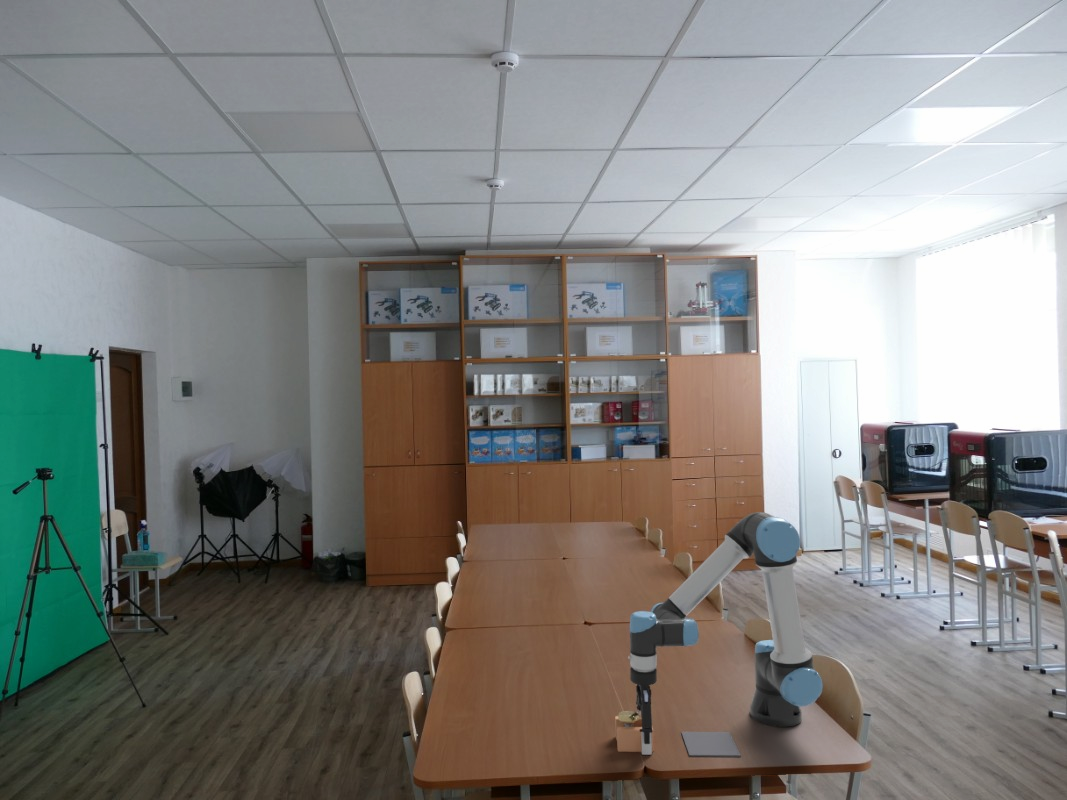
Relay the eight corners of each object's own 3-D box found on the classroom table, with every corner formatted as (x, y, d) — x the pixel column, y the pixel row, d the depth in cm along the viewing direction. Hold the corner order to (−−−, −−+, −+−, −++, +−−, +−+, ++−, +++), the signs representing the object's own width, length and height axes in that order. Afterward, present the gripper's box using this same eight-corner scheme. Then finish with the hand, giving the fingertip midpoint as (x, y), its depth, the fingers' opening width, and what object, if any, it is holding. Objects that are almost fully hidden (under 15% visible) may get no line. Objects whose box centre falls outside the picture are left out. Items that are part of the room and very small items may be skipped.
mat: (729, 733, 210) (729, 731, 210) (740, 756, 196) (740, 755, 196) (681, 733, 211) (681, 731, 211) (689, 756, 197) (689, 754, 197)
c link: (649, 736, 209) (649, 716, 209) (653, 751, 200) (653, 730, 200) (615, 736, 209) (615, 716, 209) (617, 751, 200) (617, 730, 200)
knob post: (638, 739, 207) (637, 710, 208) (640, 748, 201) (640, 719, 202) (617, 738, 208) (617, 710, 208) (619, 748, 202) (618, 719, 202)
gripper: (626, 652, 217) (627, 724, 217) (634, 683, 193) (635, 764, 193) (651, 653, 216) (652, 724, 216) (662, 683, 192) (663, 764, 192)
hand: (644, 743), depth 204 cm, fingers open, 12 cm apart
